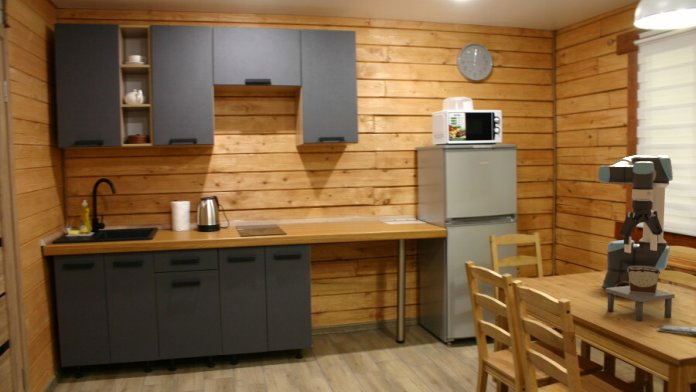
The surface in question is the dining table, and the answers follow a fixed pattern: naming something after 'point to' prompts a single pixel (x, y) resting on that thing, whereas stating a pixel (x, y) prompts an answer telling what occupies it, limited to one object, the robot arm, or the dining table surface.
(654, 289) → the food container
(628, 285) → the pottery mug
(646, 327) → the dining table surface
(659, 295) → the small gray table
